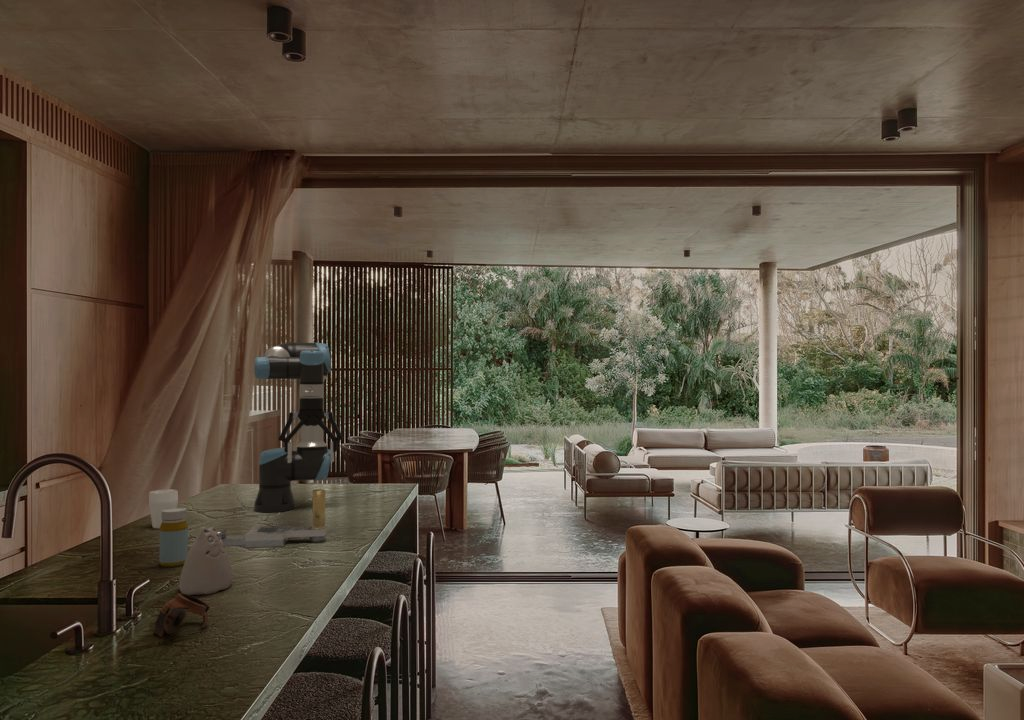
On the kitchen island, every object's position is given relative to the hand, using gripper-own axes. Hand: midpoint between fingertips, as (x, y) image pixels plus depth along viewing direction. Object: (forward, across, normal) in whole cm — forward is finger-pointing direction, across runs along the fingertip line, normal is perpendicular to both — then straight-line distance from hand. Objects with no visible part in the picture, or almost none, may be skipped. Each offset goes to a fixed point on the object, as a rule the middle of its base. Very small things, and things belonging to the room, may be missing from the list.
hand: (311, 462), depth 225 cm
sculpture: (+24, -16, -54) cm, 61 cm away
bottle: (+24, -32, -31) cm, 50 cm away
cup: (+24, -52, +17) cm, 60 cm away
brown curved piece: (+24, -13, -82) cm, 87 cm away
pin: (+24, +2, +2) cm, 24 cm away
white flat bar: (+24, -11, -10) cm, 28 cm away
